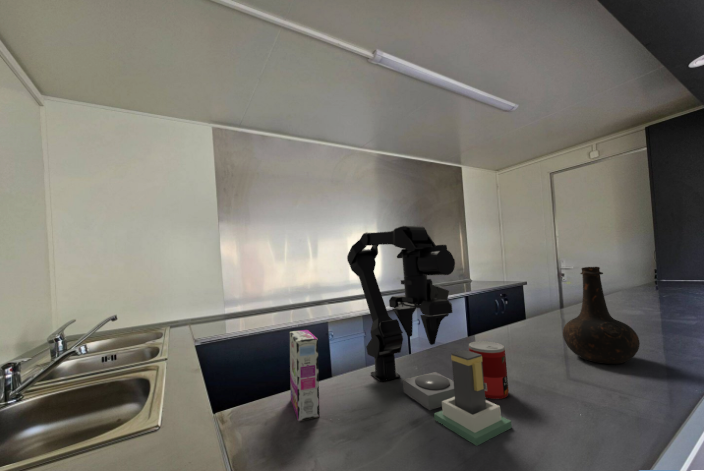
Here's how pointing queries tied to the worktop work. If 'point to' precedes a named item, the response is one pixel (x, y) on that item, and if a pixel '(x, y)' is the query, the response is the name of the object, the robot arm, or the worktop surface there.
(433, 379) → the grey domed square block
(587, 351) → the glass bottle
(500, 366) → the canned food
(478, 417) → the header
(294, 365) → the candy bar box
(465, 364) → the dark grey tall block
